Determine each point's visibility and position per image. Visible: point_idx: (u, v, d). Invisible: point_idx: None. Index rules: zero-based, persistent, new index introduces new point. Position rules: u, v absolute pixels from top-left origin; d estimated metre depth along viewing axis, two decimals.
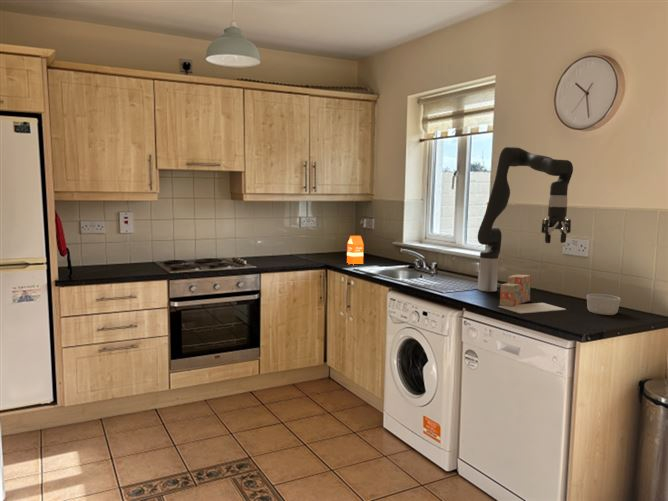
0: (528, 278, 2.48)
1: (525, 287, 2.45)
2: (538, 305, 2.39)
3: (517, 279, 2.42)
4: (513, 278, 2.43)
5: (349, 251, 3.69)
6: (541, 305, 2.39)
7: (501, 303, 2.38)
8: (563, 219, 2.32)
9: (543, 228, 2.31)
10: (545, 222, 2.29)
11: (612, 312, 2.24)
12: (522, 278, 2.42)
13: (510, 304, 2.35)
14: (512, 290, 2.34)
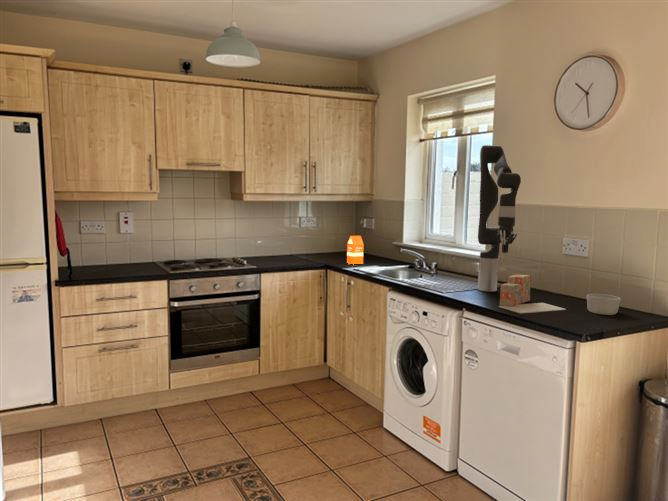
0: (528, 278, 2.48)
1: (525, 287, 2.45)
2: (538, 305, 2.39)
3: (517, 279, 2.42)
4: (513, 278, 2.43)
5: (349, 251, 3.69)
6: (541, 305, 2.39)
7: (501, 303, 2.38)
8: None
9: None
10: (514, 237, 2.45)
11: (612, 312, 2.24)
12: (522, 278, 2.42)
13: (510, 304, 2.35)
14: (512, 290, 2.34)
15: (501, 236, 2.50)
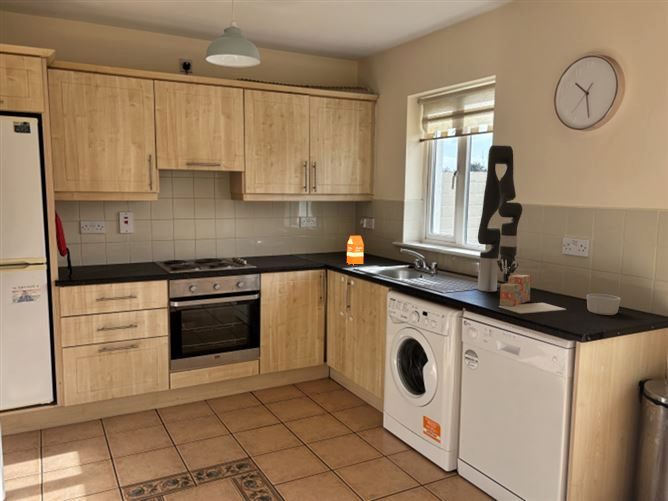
0: (528, 278, 2.48)
1: (525, 287, 2.45)
2: (538, 305, 2.39)
3: (517, 279, 2.42)
4: (513, 278, 2.43)
5: (349, 251, 3.69)
6: (541, 305, 2.39)
7: (501, 303, 2.38)
8: None
9: None
10: (516, 266, 2.44)
11: (612, 312, 2.24)
12: (522, 278, 2.42)
13: (510, 304, 2.35)
14: (512, 290, 2.34)
15: (503, 265, 2.49)
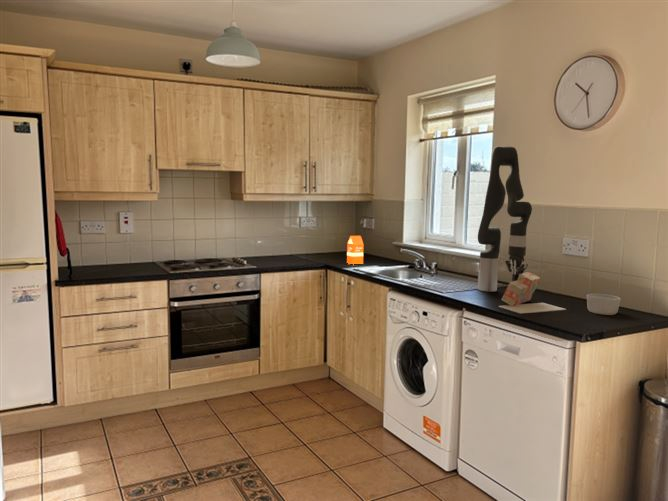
0: (537, 280, 2.45)
1: (531, 289, 2.44)
2: (538, 305, 2.39)
3: (527, 280, 2.39)
4: (523, 278, 2.40)
5: (349, 251, 3.69)
6: (541, 305, 2.39)
7: (503, 299, 2.37)
8: None
9: None
10: (525, 267, 2.39)
11: (612, 312, 2.24)
12: (532, 281, 2.39)
13: (511, 304, 2.35)
14: (518, 292, 2.32)
15: (511, 265, 2.44)
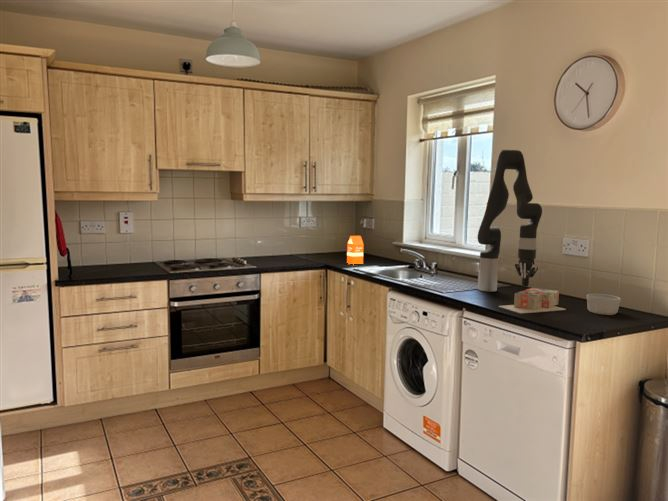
0: None
1: None
2: None
3: (546, 303, 2.34)
4: (547, 299, 2.33)
5: (349, 251, 3.69)
6: None
7: (515, 295, 2.34)
8: None
9: None
10: (535, 270, 2.32)
11: (612, 312, 2.24)
12: None
13: (515, 304, 2.34)
14: (529, 308, 2.30)
15: (521, 269, 2.38)
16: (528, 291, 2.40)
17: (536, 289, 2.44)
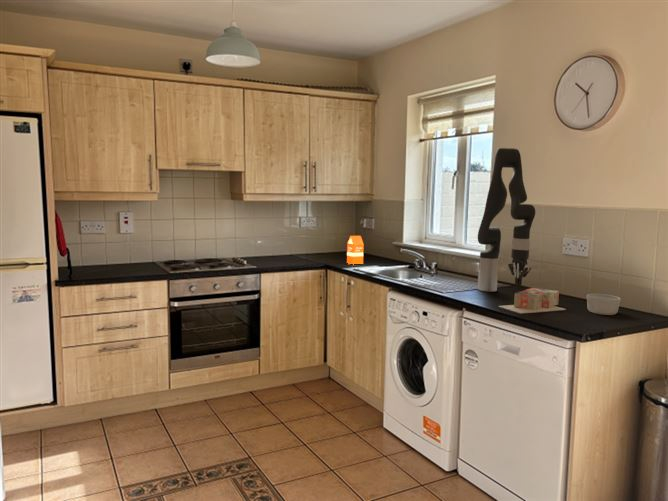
0: None
1: None
2: None
3: (546, 303, 2.34)
4: (547, 299, 2.33)
5: (349, 251, 3.69)
6: None
7: (515, 295, 2.34)
8: None
9: None
10: (528, 270, 2.37)
11: (612, 312, 2.24)
12: None
13: (515, 304, 2.34)
14: (529, 308, 2.30)
15: (514, 269, 2.42)
16: (528, 291, 2.40)
17: (536, 289, 2.44)
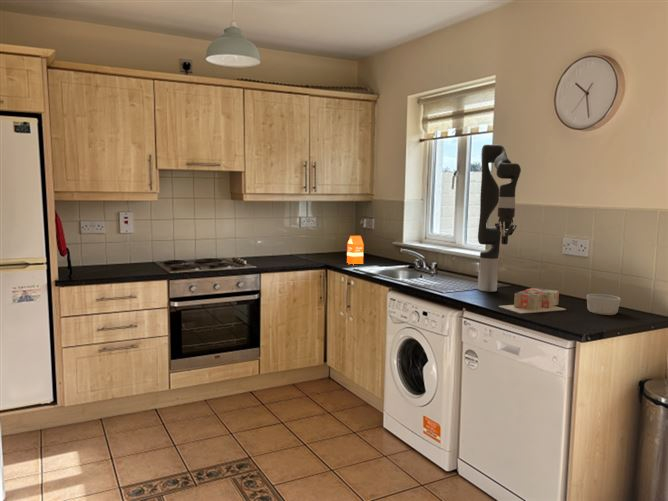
0: None
1: None
2: None
3: (546, 303, 2.34)
4: (547, 299, 2.33)
5: (349, 251, 3.69)
6: None
7: (515, 295, 2.34)
8: None
9: None
10: (514, 228, 2.40)
11: (612, 312, 2.24)
12: None
13: (515, 304, 2.34)
14: (529, 308, 2.30)
15: (501, 227, 2.46)
16: (528, 291, 2.40)
17: (536, 289, 2.44)
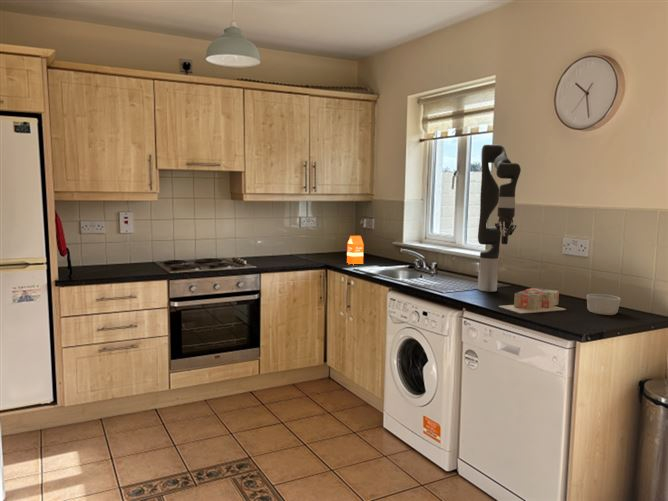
0: None
1: None
2: None
3: (546, 303, 2.34)
4: (547, 299, 2.33)
5: (349, 251, 3.69)
6: None
7: (515, 295, 2.34)
8: None
9: None
10: (514, 228, 2.40)
11: (612, 312, 2.24)
12: None
13: (515, 304, 2.34)
14: (529, 308, 2.30)
15: (500, 227, 2.46)
16: (528, 291, 2.40)
17: (536, 289, 2.44)
